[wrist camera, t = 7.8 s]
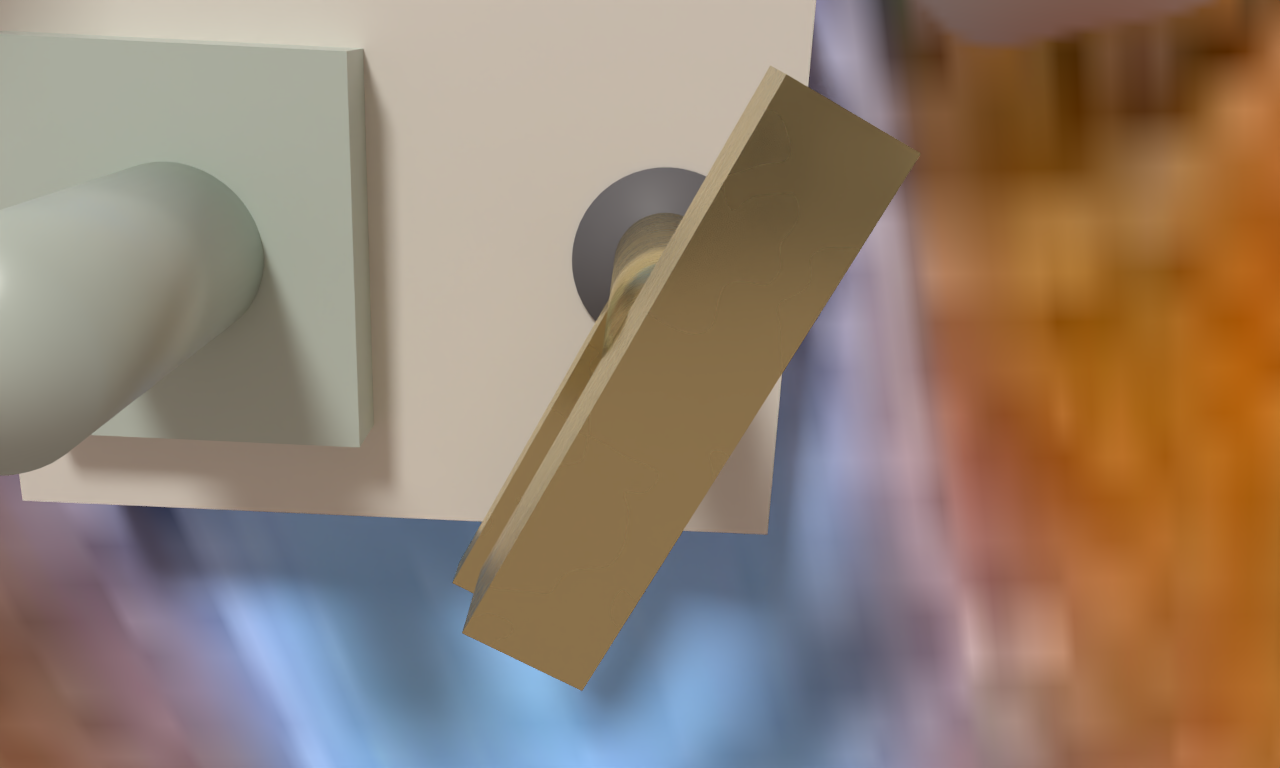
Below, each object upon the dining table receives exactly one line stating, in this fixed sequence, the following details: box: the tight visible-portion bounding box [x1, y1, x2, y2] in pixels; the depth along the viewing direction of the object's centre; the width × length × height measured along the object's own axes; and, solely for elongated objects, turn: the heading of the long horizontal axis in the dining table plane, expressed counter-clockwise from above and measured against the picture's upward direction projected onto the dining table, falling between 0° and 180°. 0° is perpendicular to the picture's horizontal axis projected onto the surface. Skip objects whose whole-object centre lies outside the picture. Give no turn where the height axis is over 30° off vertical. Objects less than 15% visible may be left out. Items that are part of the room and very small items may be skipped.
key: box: [453, 66, 920, 691], centre depth 23 cm, size 14×2×10 cm, turn 151°
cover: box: [0, 31, 374, 475], centre depth 23 cm, size 8×9×10 cm
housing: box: [0, 0, 816, 535], centre depth 29 cm, size 19×14×4 cm
